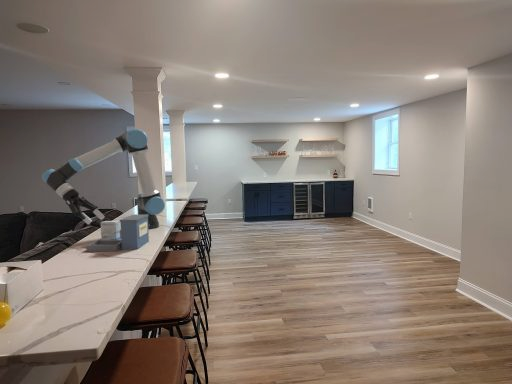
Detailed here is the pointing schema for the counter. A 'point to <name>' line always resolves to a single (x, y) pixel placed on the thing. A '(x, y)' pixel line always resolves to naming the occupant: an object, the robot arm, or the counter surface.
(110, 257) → the counter surface
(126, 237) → the housing unit
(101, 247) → the tray
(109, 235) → the ink box
